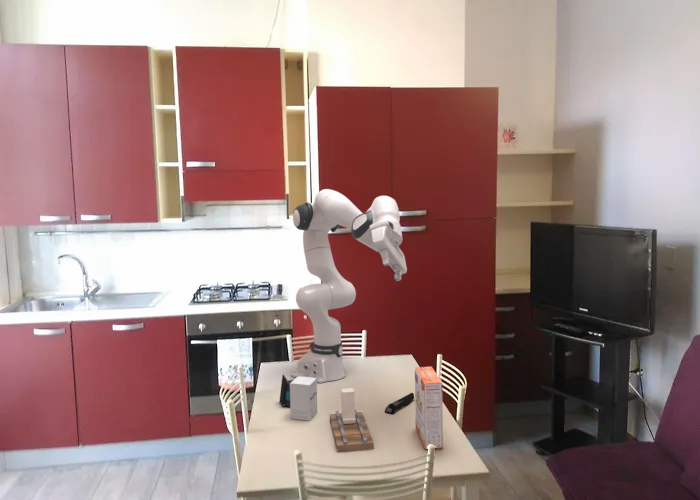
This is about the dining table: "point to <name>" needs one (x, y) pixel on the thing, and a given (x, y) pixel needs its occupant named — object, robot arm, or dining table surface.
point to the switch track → (351, 433)
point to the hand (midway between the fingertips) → (392, 272)
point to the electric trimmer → (399, 404)
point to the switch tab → (348, 405)
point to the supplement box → (303, 398)
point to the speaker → (285, 392)
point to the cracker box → (428, 407)
